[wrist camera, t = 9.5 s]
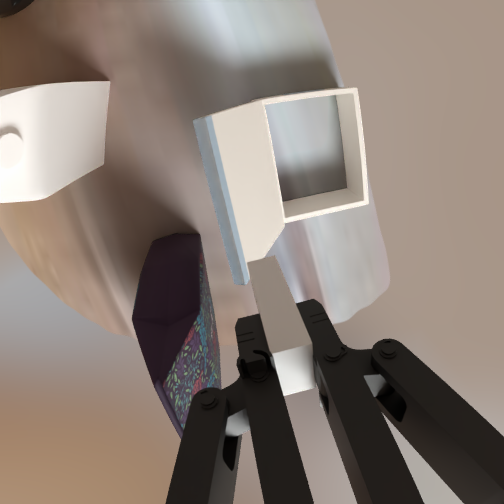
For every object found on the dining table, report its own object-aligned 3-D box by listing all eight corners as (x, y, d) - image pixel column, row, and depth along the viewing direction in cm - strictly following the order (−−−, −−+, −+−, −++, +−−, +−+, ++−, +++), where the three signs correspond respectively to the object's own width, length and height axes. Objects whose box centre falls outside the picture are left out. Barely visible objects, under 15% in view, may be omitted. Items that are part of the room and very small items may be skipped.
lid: (245, 285, 32) (233, 284, 32) (284, 226, 42) (274, 226, 42) (205, 117, 24) (191, 120, 25) (261, 99, 34) (251, 101, 34)
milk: (40, 85, 33) (-88, 99, 10) (110, 81, 36) (5, 73, 13) (37, 163, 39) (-77, 236, 16) (104, 164, 41) (10, 244, 18)
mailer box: (351, 191, 48) (368, 204, 43) (271, 208, 48) (280, 224, 42) (338, 86, 40) (357, 86, 35) (250, 99, 40) (257, 99, 35)
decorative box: (171, 320, 55) (164, 465, 30) (148, 236, 47) (108, 382, 22) (216, 314, 55) (232, 460, 31) (201, 228, 48) (205, 375, 23)
